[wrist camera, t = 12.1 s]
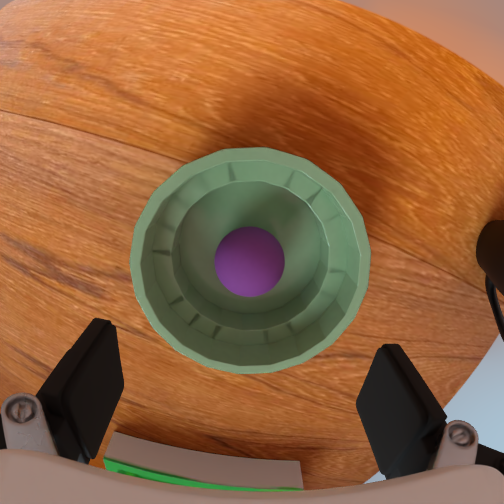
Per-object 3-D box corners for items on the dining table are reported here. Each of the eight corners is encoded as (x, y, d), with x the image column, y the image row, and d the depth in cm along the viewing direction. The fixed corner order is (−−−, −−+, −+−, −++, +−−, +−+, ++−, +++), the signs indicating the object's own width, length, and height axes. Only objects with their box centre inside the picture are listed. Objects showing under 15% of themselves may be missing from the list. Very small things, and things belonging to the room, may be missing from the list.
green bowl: (120, 234, 24) (87, 257, 19) (266, 109, 22) (272, 94, 16) (236, 358, 28) (234, 402, 22) (376, 262, 25) (406, 290, 20)
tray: (259, 520, 41) (260, 540, 37) (129, 500, 40) (124, 519, 35) (299, 460, 34) (303, 489, 29) (114, 431, 32) (103, 458, 27)
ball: (205, 246, 24) (194, 268, 19) (254, 206, 23) (256, 220, 19) (244, 291, 25) (243, 322, 21) (293, 255, 25) (304, 280, 20)
